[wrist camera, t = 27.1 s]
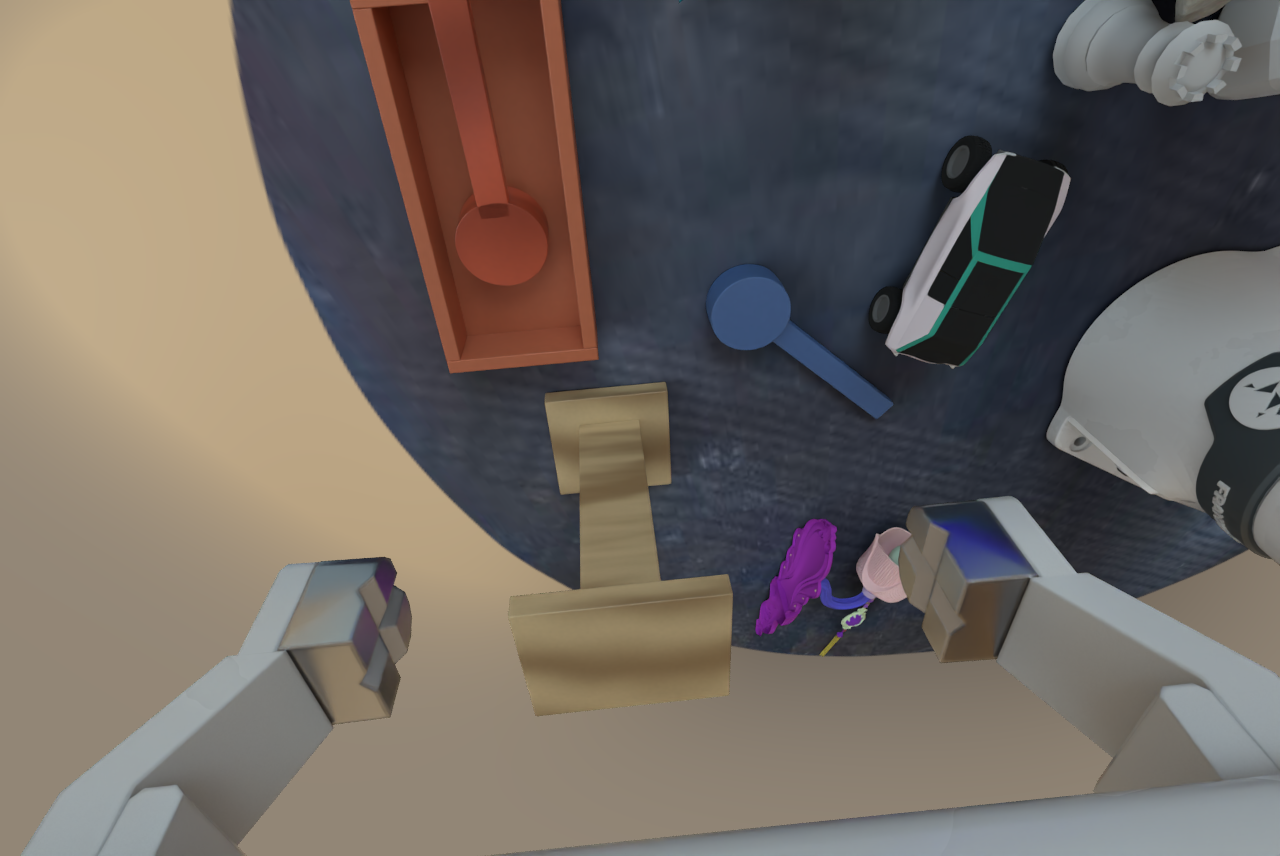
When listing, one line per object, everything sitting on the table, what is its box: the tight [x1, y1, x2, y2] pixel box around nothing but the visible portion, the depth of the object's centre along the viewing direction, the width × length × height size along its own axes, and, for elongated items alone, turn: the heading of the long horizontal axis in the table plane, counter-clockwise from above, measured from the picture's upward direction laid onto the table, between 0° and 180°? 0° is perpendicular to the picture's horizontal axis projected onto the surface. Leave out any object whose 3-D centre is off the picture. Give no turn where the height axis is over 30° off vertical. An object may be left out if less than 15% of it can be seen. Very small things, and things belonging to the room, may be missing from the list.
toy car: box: [869, 136, 1071, 369], centre depth 38 cm, size 6×12×5 cm, turn 164°
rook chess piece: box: [1053, 0, 1242, 106], centre depth 31 cm, size 4×4×8 cm
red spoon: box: [427, 0, 549, 286], centre depth 31 cm, size 16×5×2 cm, turn 4°
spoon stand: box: [508, 382, 733, 716], centre depth 39 cm, size 8×10×18 cm
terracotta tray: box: [350, 0, 599, 373], centre depth 34 cm, size 19×9×4 cm, turn 3°
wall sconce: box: [756, 519, 911, 657], centre depth 56 cm, size 10×6×20 cm
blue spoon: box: [706, 264, 894, 419], centre depth 42 cm, size 16×5×2 cm, turn 51°
